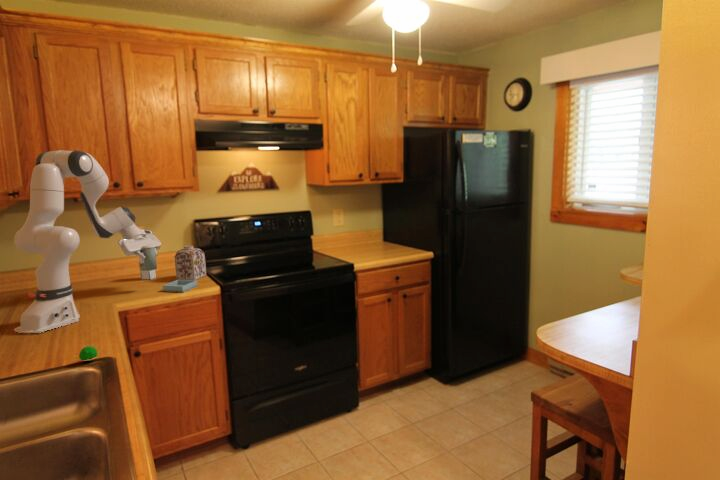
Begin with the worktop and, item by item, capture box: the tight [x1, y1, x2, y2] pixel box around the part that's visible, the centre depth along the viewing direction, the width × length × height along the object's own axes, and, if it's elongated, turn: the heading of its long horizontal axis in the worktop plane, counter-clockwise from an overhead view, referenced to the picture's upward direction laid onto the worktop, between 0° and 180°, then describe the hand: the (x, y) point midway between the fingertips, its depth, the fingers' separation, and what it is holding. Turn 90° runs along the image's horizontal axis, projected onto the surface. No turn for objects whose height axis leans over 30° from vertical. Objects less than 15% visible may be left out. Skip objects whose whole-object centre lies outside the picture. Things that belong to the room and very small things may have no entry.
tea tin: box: [142, 245, 158, 271], centre depth 224 cm, size 6×6×12 cm
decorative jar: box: [174, 244, 207, 281], centre depth 248 cm, size 12×12×18 cm
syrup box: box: [137, 253, 157, 281], centre depth 249 cm, size 6×6×14 cm
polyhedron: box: [78, 345, 99, 361], centre depth 143 cm, size 5×5×5 cm
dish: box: [162, 279, 199, 293], centre depth 226 cm, size 12×12×3 cm
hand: (150, 257), depth 223 cm, fingers closed on tea tin, 5 cm apart
